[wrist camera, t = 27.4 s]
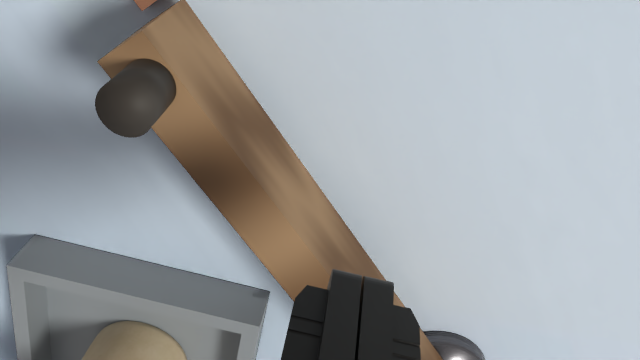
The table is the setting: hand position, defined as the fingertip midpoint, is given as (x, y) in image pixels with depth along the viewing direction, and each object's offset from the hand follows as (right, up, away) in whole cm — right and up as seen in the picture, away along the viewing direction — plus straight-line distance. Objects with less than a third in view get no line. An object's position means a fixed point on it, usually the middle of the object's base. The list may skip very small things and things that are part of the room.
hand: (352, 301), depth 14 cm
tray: (-11, -7, +20) cm, 23 cm away
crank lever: (0, 0, +12) cm, 12 cm away
